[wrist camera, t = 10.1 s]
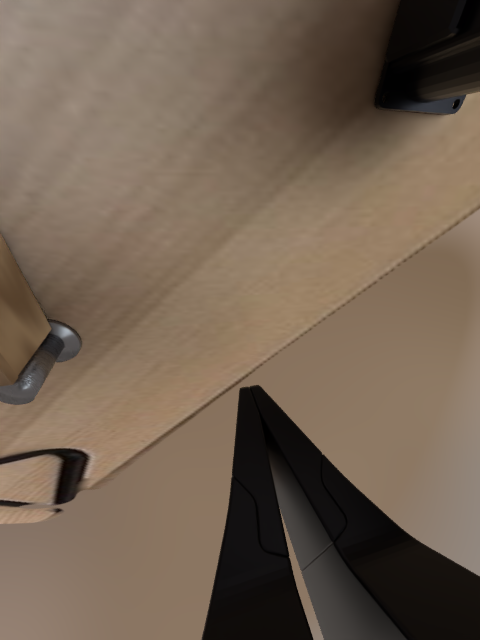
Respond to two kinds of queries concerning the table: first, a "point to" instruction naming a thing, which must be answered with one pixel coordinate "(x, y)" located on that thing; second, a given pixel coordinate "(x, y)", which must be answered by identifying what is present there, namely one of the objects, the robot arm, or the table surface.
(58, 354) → the hinge post
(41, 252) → the table surface
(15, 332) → the tan wooden flat block
